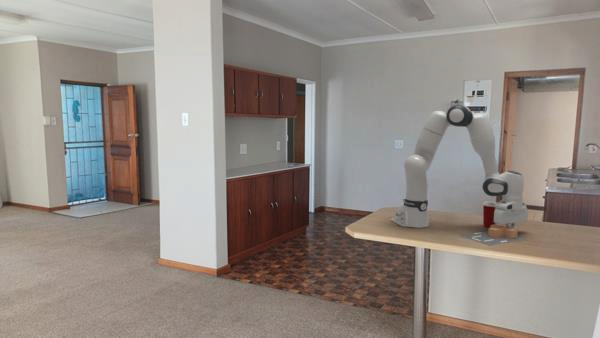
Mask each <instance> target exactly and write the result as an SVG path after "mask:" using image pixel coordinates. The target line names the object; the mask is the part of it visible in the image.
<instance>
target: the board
mask: <svg viewBox="0 0 600 338" xmlns="http://www.w3.org/2000/svg"><path fill="white" fill-rule="evenodd" d="M488 231H489V230H487V231H485V230H484V231H480V232H479V231H478V232H472V233H466V234H460V235H459V234H458V236H459V237H461V238H465V239H468V240H471V241H473V242H477V243H480V244H483V245H486V246H495V245H501V244H507V243H513V242H517V241H518V242H519V241H524V240H526V238H525V237H520V236H518V235H517V238H515V239H509V238H506V237H501V238H492V237H489V236H488Z"/></svg>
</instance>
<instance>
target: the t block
mask: <svg viewBox="0 0 600 338" xmlns="http://www.w3.org/2000/svg"><path fill="white" fill-rule="evenodd" d="M487 231H488V236H489V237H492V238H501V237H506V238H509V239H515V238H517V236H518V232H519V231H518V229H515V228H514V229H512V228H508V227H506V226H505V225H499V224H495V225H491V226H490V228H488V230H487Z"/></svg>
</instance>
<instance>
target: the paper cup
mask: <svg viewBox="0 0 600 338" xmlns="http://www.w3.org/2000/svg"><path fill="white" fill-rule="evenodd" d="M495 203H497V202H496V201H487V200H486V201H484V202H483V203H482V205H483V208H482V209H483V213H482V214H483V217H482V218H483V219H482V220H483V221H482V222H483V227H484V228H487V229H489V228H490V226H491V225H495V224H496V223H495V222H494V211H495V209H496V208H495Z"/></svg>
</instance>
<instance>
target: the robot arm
mask: <svg viewBox="0 0 600 338" xmlns="http://www.w3.org/2000/svg"><path fill="white" fill-rule="evenodd" d="M492 125H493V124H492V122H491V121H490V118H489V116H488V115H486V114H485V113H475V114H474V113H473V112H472V110H471V109H470V108H469V107H468V106H467V105H465V104H454V105H452V106H451V107H449V108H448V109H447V111H442V110H435V111H433V112H432V113H431V114H430V115H429V117H428V118H427V120H426V122H425V123H424V126H423V128H422V129H421V131H420V134H419V136H418V139H417V141H416V145H415V148H414V151H413V153H412V154H411V155H410V156H408V157H407V158H406V160H405V162H404V164H403V165H404V174H405V181H406V182H405V185H406V190H405V198H404V199H402V201H403V205H400V207H399V208H397V209H396V210H395V212H394V213H395V214H394V217H392V218H390V221H391V222H393V223H395V224H397V225H398V226H400V227H405V228H407V227H408V228H420V229H421V228H428V227H429V226H430V220H429V209H428V206H429V201H428V181H427V179H428V178H427V172H428V170H429V169H430V167H431V164H432V163H433V161H434V159H435V158H434V157H435V155H436V152H437V150H438V149H439V148H438V147H439V146H440V143H441V142H442V140H443V137H444V136H445V133H446V131H447V129H448V128H449V127H450V126H453V127H461V128H464V127H465V128H466V129H467V131H468V133H469V139H470V143H471V146H472V147H473V150H474V151H475V153H476V154H477V155H478V156H479V157H480V159H481V161H482V166H483V170H484V173H485V174H484V175H485V176H484V177H485V178H484V181H483V183H482V190H483V192H484V194H486V195H488V196H489V197H499V196H501V197H502V199H500V200H499V201H497V202H496V203H495V208H496V209H495V211H494V222H495V223H496V224H497V225H501V226H503V225H504V226H505V227H508V228H512V229H515V228H516V225H517V223H522V222H526V221H527V220H528V218H529V217H528V208H527V204H526V202H523V201H524V199H523V192H524V186H525V185H524V182H525V181H524V176H523V174H522V173H520V172H518V171H513V170H506V171H505V172H502V173H500V171H499V168H498V165H497V160H496V156H495V155H496V152H495V151H496V138H495V137H496V136H495V134H494V133H495V132H494V129H493V126H492Z"/></svg>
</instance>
